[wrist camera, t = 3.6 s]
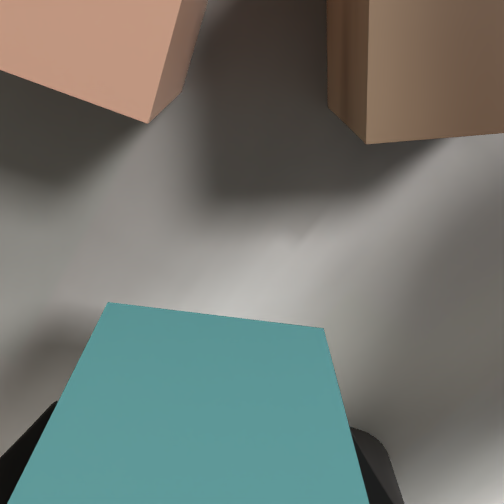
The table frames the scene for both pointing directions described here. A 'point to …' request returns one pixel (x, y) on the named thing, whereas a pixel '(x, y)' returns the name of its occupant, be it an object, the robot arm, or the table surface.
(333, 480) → the teal cube
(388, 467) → the dark grey cylinder
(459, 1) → the walnut cube
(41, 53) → the terracotta cube
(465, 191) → the table surface
